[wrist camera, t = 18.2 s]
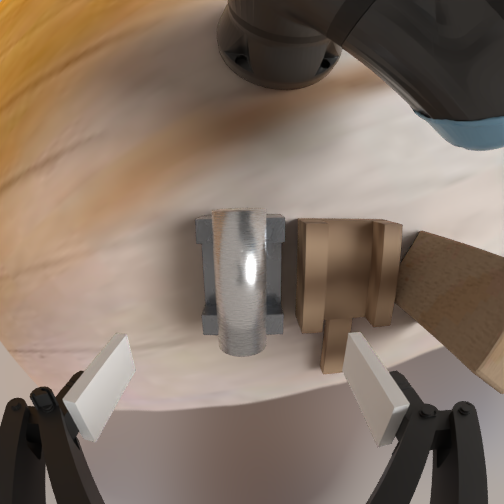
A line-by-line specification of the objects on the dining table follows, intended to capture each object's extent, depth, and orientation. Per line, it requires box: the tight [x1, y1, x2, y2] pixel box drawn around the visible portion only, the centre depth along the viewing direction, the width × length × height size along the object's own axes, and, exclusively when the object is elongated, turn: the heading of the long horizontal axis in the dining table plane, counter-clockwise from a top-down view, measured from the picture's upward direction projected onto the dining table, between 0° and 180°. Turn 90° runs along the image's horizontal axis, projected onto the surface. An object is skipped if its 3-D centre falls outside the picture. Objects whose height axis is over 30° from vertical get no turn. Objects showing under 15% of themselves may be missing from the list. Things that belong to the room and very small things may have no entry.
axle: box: [212, 208, 266, 357], centre depth 27 cm, size 14×5×5 cm, turn 1°
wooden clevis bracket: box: [295, 218, 403, 374], centre depth 32 cm, size 20×11×5 cm, turn 1°
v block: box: [195, 214, 285, 335], centre depth 31 cm, size 13×9×4 cm
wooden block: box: [394, 231, 504, 394], centre depth 24 cm, size 10×10×20 cm
